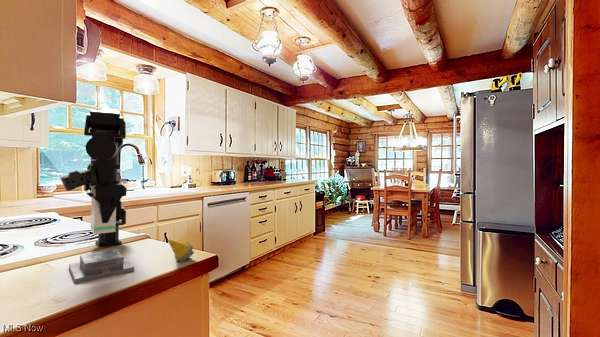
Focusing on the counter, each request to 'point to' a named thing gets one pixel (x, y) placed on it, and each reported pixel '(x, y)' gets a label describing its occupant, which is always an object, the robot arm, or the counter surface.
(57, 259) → the counter surface
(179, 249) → the yellow-green tapered piece
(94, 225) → the column
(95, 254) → the stand
